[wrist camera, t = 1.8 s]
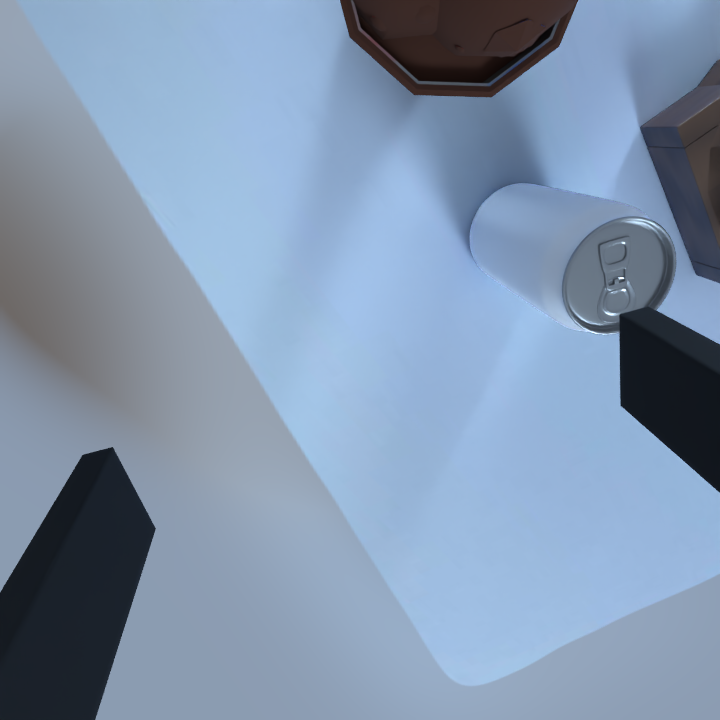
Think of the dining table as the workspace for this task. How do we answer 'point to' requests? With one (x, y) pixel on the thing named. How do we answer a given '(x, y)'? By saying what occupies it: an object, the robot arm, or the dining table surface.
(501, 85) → the ice cream bowl
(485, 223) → the can
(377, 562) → the dining table surface
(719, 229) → the holder
